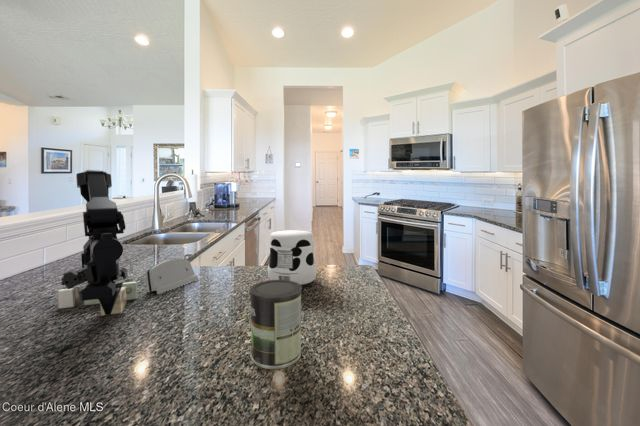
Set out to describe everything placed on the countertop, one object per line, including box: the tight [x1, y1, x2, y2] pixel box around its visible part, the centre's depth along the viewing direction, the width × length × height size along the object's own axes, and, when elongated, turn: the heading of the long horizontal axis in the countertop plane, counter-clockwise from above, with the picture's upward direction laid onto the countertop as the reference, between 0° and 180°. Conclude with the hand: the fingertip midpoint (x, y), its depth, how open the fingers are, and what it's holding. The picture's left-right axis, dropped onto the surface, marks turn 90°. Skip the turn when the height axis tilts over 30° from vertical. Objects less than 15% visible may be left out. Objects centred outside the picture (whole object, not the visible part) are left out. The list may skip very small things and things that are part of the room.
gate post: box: [73, 285, 84, 307], centre depth 85 cm, size 2×2×6 cm
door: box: [82, 280, 138, 306], centre depth 87 cm, size 3×13×5 cm, turn 114°
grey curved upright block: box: [144, 258, 199, 295], centre depth 102 cm, size 17×5×10 cm, turn 154°
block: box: [99, 287, 127, 316], centre depth 82 cm, size 7×4×5 cm, turn 23°
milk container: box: [267, 229, 317, 287], centre depth 104 cm, size 17×17×18 cm
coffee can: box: [249, 279, 303, 370], centre depth 59 cm, size 10×10×14 cm
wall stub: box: [57, 287, 76, 310], centre depth 84 cm, size 2×3×5 cm, turn 114°
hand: (108, 314), depth 77 cm, fingers closed
